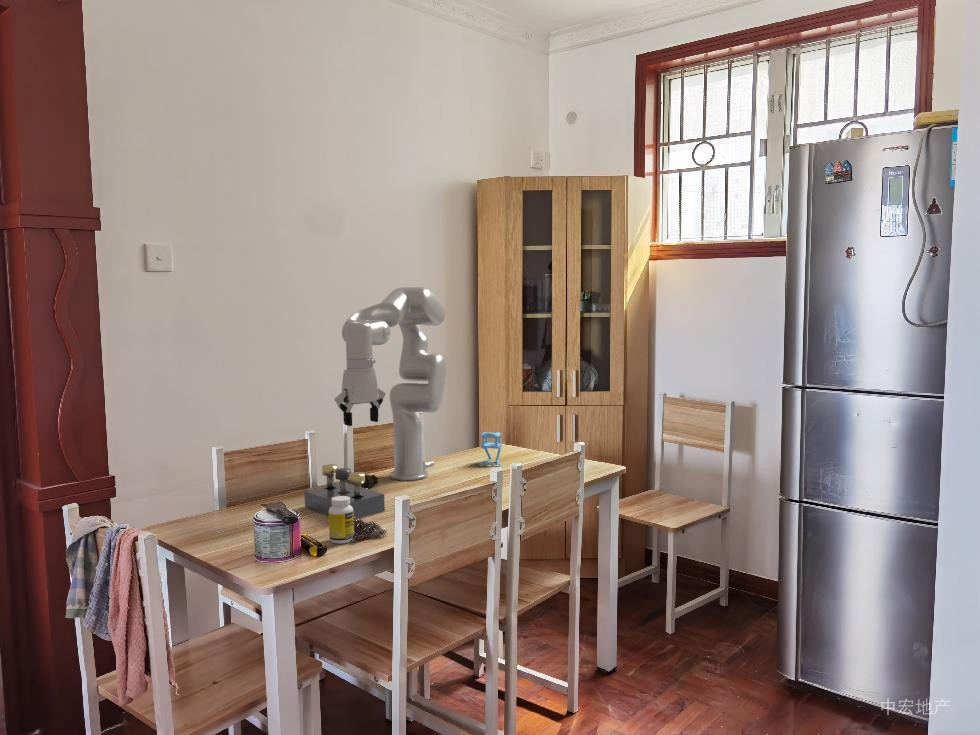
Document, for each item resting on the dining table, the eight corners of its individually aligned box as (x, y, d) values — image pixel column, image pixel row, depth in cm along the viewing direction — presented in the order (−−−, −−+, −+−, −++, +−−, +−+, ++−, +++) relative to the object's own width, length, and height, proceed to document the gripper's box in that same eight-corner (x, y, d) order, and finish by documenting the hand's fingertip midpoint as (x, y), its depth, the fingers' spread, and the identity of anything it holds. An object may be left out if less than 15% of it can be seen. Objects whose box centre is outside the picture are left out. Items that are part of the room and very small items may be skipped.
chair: (504, 461, 288) (504, 429, 287) (499, 466, 280) (499, 433, 279) (483, 461, 290) (483, 428, 289) (478, 466, 282) (477, 432, 281)
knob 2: (359, 496, 228) (359, 471, 227) (368, 499, 225) (368, 473, 224) (346, 499, 225) (345, 473, 224) (355, 502, 222) (354, 476, 221)
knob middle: (346, 492, 233) (345, 467, 232) (354, 495, 230) (353, 469, 229) (333, 495, 230) (332, 469, 229) (341, 498, 227) (340, 472, 226)
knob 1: (332, 488, 238) (332, 463, 237) (341, 490, 235) (340, 465, 234) (320, 490, 235) (319, 466, 234) (328, 493, 232) (327, 468, 231)
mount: (345, 498, 242) (344, 482, 242) (384, 511, 228) (384, 494, 228) (305, 507, 233) (304, 490, 232) (343, 521, 219) (342, 504, 218)
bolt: (377, 491, 258) (345, 500, 245) (366, 481, 260) (335, 490, 247) (384, 476, 256) (352, 485, 243) (373, 467, 258) (341, 475, 245)
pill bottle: (349, 544, 199) (347, 501, 198) (325, 543, 200) (324, 501, 199) (357, 537, 205) (356, 495, 204) (334, 536, 207) (333, 494, 205)
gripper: (376, 361, 240) (378, 418, 241) (326, 366, 228) (328, 425, 229) (391, 362, 234) (393, 421, 236) (341, 367, 222) (343, 429, 224)
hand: (361, 423), depth 233 cm, fingers open, 8 cm apart
